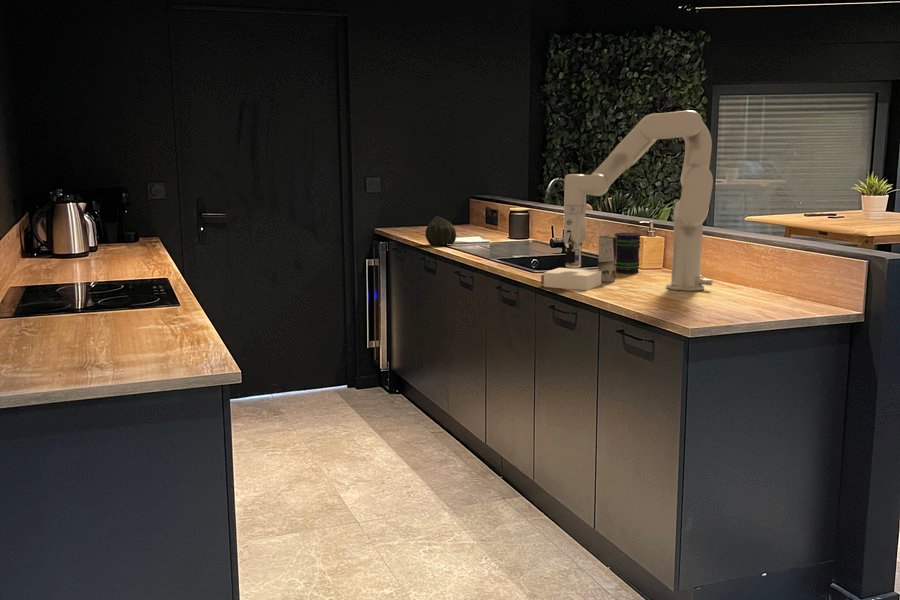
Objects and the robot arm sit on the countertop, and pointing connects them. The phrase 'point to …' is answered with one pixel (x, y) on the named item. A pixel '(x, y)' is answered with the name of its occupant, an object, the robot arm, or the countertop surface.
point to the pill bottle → (576, 257)
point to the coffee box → (607, 257)
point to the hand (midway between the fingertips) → (573, 261)
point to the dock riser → (571, 278)
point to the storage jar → (627, 253)
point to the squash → (440, 232)
